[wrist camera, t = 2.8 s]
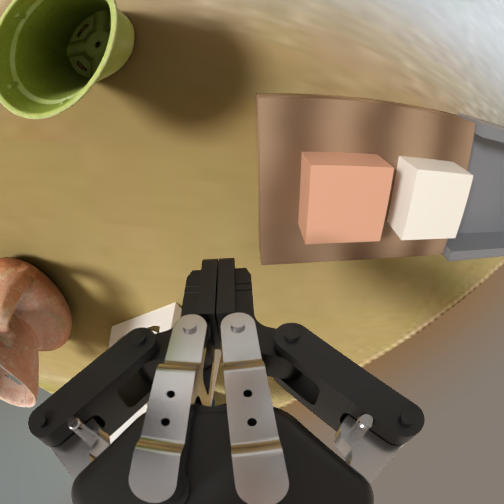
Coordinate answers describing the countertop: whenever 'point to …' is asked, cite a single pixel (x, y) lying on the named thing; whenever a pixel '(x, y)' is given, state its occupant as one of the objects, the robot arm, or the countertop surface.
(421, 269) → the countertop surface
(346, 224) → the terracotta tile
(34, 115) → the plant pot
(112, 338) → the grater
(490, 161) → the box
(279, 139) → the walnut ledge
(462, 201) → the cream tile
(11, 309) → the ceramic jug
